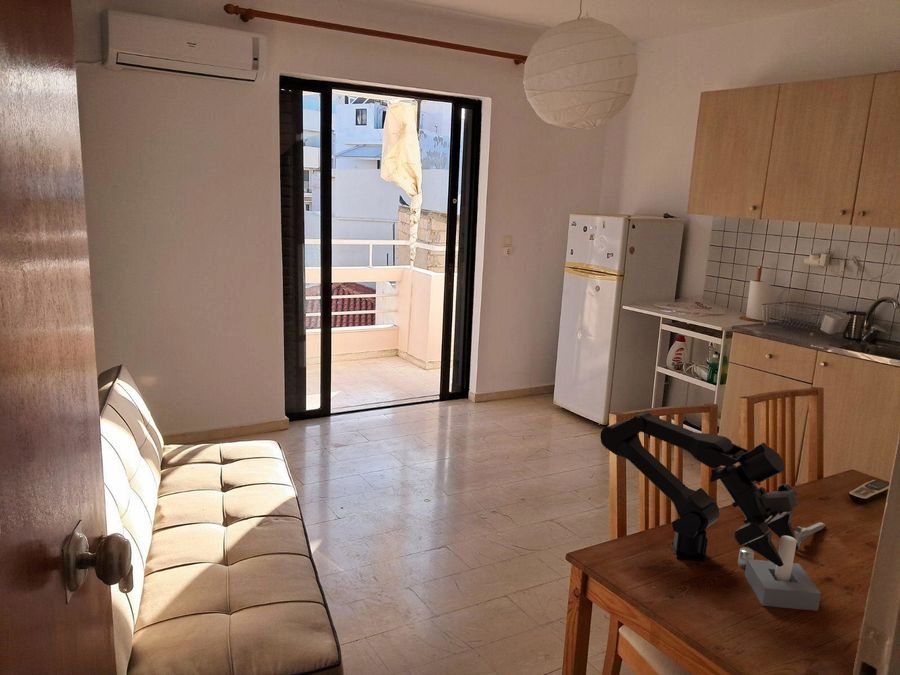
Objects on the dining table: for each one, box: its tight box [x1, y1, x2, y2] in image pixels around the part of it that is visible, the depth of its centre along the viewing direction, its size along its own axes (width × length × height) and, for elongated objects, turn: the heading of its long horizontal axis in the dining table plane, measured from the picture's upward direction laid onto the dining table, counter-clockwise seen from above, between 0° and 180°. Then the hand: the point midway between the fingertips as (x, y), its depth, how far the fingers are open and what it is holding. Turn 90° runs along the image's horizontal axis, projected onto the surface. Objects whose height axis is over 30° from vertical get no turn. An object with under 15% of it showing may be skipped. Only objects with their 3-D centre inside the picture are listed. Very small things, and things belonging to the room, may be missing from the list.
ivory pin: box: [774, 536, 797, 582], centre depth 140 cm, size 3×3×12 cm
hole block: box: [744, 559, 822, 612], centre depth 141 cm, size 11×11×4 cm
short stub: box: [737, 547, 755, 569], centre depth 151 cm, size 3×3×4 cm
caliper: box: [793, 521, 826, 553], centre depth 164 cm, size 20×1×6 cm, turn 133°
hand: (789, 557), depth 139 cm, fingers open, 9 cm apart
